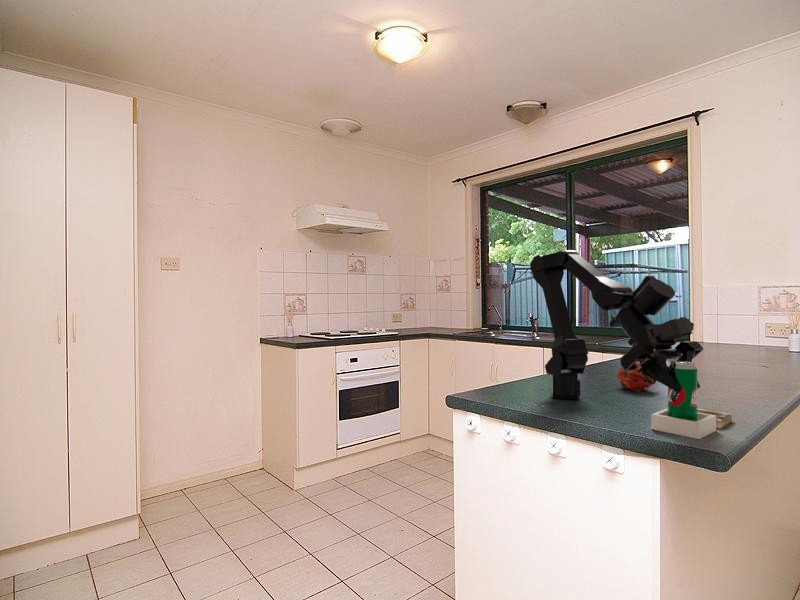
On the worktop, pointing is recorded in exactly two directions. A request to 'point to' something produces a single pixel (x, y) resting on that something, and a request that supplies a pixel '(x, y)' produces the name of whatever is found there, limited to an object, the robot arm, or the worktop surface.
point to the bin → (684, 424)
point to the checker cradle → (718, 417)
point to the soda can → (683, 391)
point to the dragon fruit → (635, 379)
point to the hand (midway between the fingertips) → (689, 389)
